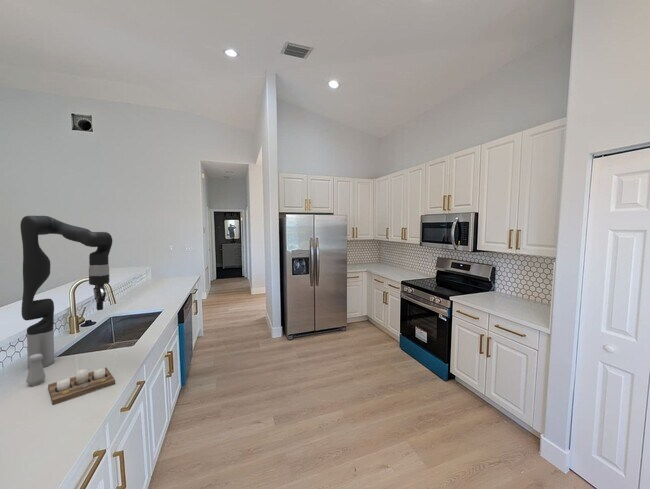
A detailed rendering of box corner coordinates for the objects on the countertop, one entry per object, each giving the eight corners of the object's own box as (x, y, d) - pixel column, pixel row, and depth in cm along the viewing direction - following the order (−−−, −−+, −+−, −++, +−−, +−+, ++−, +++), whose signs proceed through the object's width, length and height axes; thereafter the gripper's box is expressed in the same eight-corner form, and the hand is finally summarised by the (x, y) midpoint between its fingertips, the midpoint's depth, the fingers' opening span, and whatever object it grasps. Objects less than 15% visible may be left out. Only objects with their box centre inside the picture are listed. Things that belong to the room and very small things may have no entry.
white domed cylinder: (56, 392, 115) (56, 380, 115) (69, 388, 118) (69, 376, 118) (57, 396, 113) (57, 384, 112) (70, 391, 116) (70, 380, 115)
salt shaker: (32, 388, 118) (32, 358, 117) (23, 386, 119) (22, 357, 118) (49, 380, 123) (48, 352, 123) (39, 379, 125) (38, 351, 124)
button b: (75, 381, 120) (75, 370, 119) (87, 378, 123) (87, 367, 122) (77, 385, 117) (76, 374, 117) (89, 381, 120) (88, 370, 120)
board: (48, 388, 117) (48, 383, 117) (106, 371, 133) (106, 366, 133) (52, 405, 107) (52, 399, 107) (115, 383, 122) (115, 378, 122)
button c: (93, 380, 124) (92, 370, 124) (104, 377, 127) (104, 366, 127) (95, 383, 122) (94, 373, 121) (106, 380, 125) (106, 369, 124)
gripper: (86, 272, 130) (86, 308, 131) (91, 276, 122) (92, 314, 123) (105, 271, 136) (106, 305, 137) (112, 274, 127) (113, 311, 128)
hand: (99, 309), depth 130 cm, fingers closed
